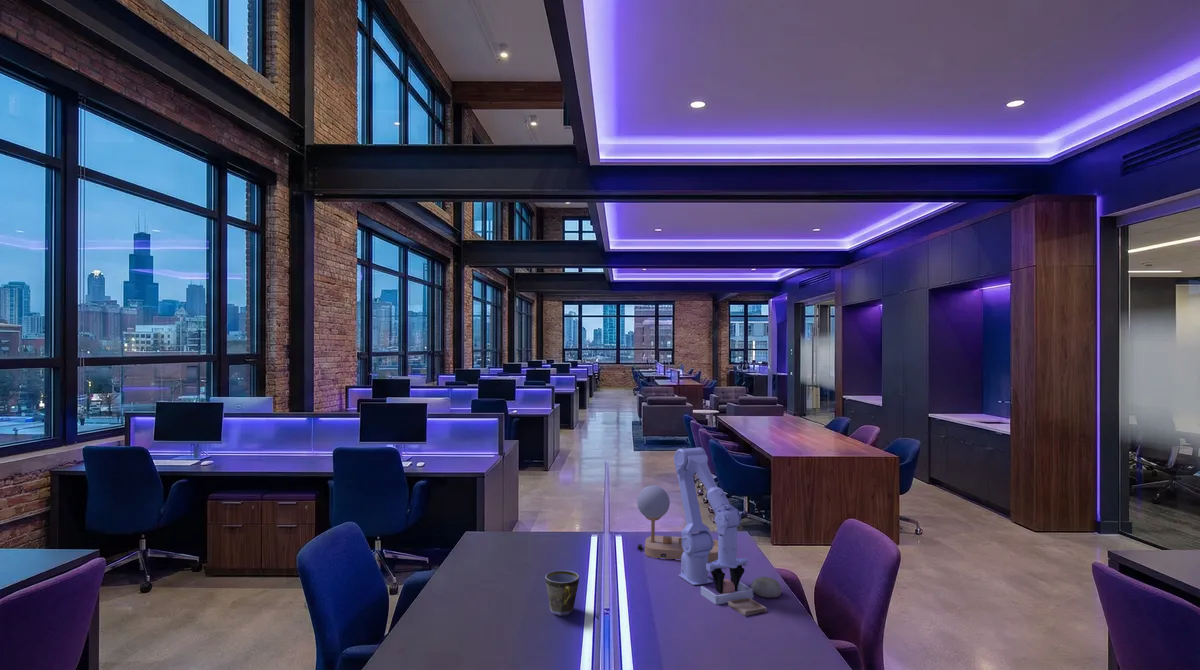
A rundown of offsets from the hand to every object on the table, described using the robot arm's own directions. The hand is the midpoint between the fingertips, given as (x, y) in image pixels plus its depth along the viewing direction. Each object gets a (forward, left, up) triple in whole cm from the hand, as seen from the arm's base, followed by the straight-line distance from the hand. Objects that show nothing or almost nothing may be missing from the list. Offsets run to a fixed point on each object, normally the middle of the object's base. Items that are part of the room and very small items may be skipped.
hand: (726, 591), depth 185 cm
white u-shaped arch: (0, 0, -2) cm, 2 cm away
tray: (+10, 0, -2) cm, 10 cm away
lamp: (-41, +8, -2) cm, 41 cm away
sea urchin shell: (+3, +13, -2) cm, 14 cm away
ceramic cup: (-7, -52, -2) cm, 53 cm away
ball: (0, 0, -1) cm, 1 cm away
